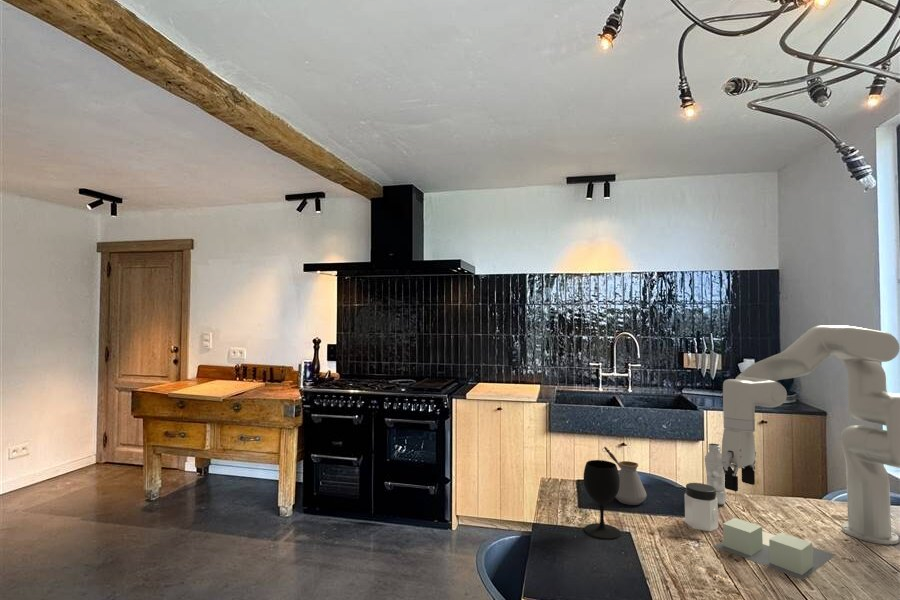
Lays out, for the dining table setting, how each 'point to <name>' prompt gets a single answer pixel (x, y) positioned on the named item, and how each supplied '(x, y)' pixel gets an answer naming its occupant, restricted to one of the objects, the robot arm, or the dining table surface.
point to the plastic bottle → (715, 472)
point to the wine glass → (601, 494)
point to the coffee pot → (629, 483)
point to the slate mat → (764, 559)
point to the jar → (701, 506)
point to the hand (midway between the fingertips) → (739, 486)
